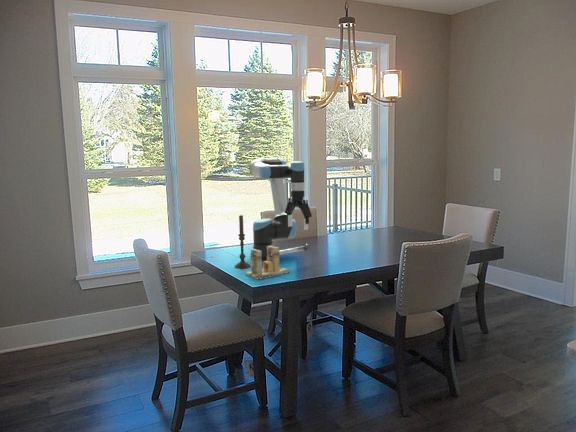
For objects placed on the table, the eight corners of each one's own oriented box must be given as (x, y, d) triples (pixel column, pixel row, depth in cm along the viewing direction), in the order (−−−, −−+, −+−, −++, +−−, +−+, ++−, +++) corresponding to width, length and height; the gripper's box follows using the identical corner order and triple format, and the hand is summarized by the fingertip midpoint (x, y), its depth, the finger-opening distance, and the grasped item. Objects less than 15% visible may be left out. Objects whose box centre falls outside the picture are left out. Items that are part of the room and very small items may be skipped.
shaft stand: (245, 274, 250) (244, 249, 248) (275, 268, 262) (274, 243, 260) (258, 279, 241) (258, 252, 239) (289, 272, 253) (288, 246, 251)
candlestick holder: (232, 268, 264) (230, 215, 259) (237, 264, 273) (235, 213, 268) (248, 268, 262) (247, 215, 258) (252, 264, 271) (250, 213, 267)
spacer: (263, 270, 253) (263, 261, 252) (267, 269, 255) (267, 260, 254) (269, 272, 249) (268, 262, 248) (273, 271, 251) (273, 261, 250)
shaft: (269, 257, 254) (268, 250, 253) (305, 250, 270) (305, 243, 269) (273, 258, 251) (273, 251, 250) (310, 251, 267) (310, 244, 266)
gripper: (278, 188, 266) (278, 225, 270) (307, 192, 247) (307, 232, 250) (288, 187, 271) (289, 224, 274) (318, 191, 252) (318, 230, 255)
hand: (298, 228), depth 262 cm, fingers open, 13 cm apart
